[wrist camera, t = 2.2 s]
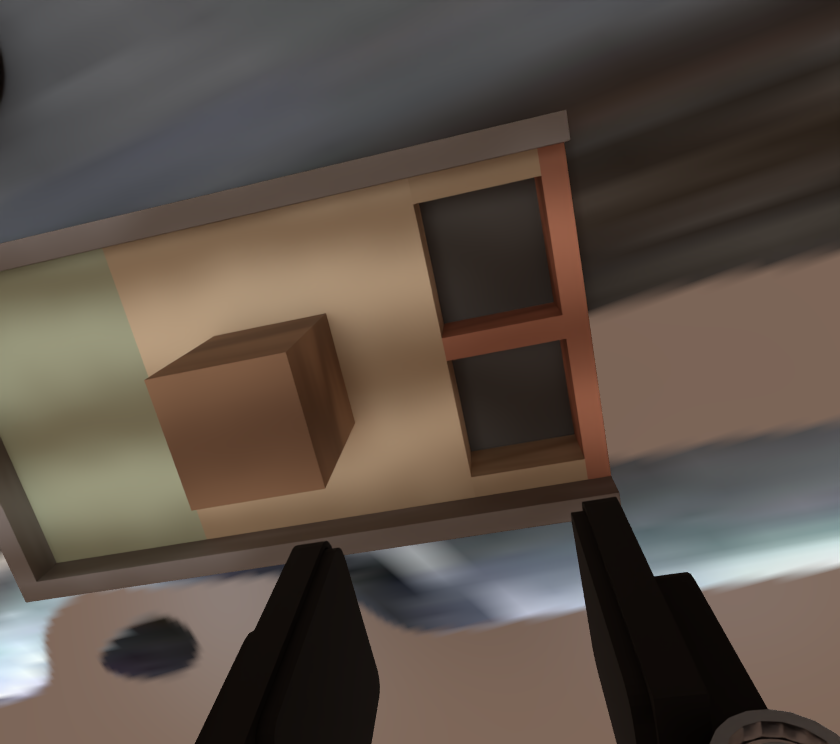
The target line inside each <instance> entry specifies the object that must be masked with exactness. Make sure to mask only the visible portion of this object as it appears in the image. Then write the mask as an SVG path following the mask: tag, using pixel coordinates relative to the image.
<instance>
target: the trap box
mask: <svg viewBox="0 0 840 744" xmlns="http://www.w3.org/2000/svg"><path fill="white" fill-rule="evenodd" d="M569 140H570V133H569V126H568V119H567V112H566V110H563V111H559V112H555V113H550V114H546V115H542V116H538V117H534V118H529V119H525V120H521V121H517V122H512V123H508V124H504V125H500V126H495V127H491V128H487V129H483V130H479V131H474V132H470V133H466V134H462V135H457V136H453V137H449V138H445V139H440V140H436V141H432V142H428V143H424V144H419V145H415V146H411V147H407V148H402V149H398V150H394V151H390V152H386V153H381V154H377V155H373V156H369V157H364V158H360V159H356V160H352V161H347V162H343V163H339V164H335V165H331V166H326V167H322V168H318V169H314V170H309V171H305V172H301V173H297V174H293V175H288V176H284V177H280V178H276V179H271V180H267V181H263V182H259V183H254V184H250V185H246V186H242V187H238V188H233V189H229V190H225V191H221V192H216V193H212V194H208V195H204V196H200V197H195V198H191V199H187V200H183V201H178V202H174V203H170V204H166V205H161V206H157V207H153V208H149V209H145V210H140V211H136V212H132V213H128V214H123V215H119V216H115V217H111V218H107V219H102V220H98V221H94V222H90V223H85V224H81V225H77V226H73V227H68V228H64V229H60V230H56V231H52V232H47V233H43V234H39V235H35V236H30V237H26V238H22V239H18V240H13V241H9V242H5V243H1V244H0V548H1V551H2V553H3V555H4V557H5V559H6V561H7V563H8V565H9V568H10V570H11V572H12V574H13V576H14V578H15V580H16V582H17V585H18V587H19V589H20V591H21V593H22V595H23V597H24V599H25V601H26V602H32V601H39V600H45V599H52V598H59V597H66V596H72V595H79V594H86V593H92V592H99V591H106V590H113V589H119V588H126V587H133V586H140V585H146V584H153V583H160V582H166V581H173V580H180V579H187V578H193V577H200V576H207V575H213V574H220V573H227V572H234V571H240V570H247V569H254V568H261V567H267V566H274V565H281V564H286V562H287V560H288V557H289V555H290V553H291V551H292V549H293V548H294V546H296V545H302V544H308V543H315V542H321V541H328V542H329V543H330V544H331V546H332V548H341V550H342V551H343V554H344V555H348V554H355V553H361V552H368V551H375V550H382V549H388V548H395V547H402V546H408V545H415V544H422V543H429V542H435V541H442V540H449V539H456V538H462V537H469V536H476V535H482V534H489V533H496V532H503V531H509V530H516V529H523V528H529V527H536V526H543V525H550V524H556V523H563V522H570V521H572V520H571V512H577V511H583V510H582V502H583V501H590V500H596V499H603V498H609V497H617V499H618V501H619V503H620V505H621V502H620V495H619V491H618V489H617V487H616V485H615V483H614V481H613V479H612V477H611V472H610V465H609V457H608V451H607V444H606V436H605V429H604V422H603V416H602V408H601V401H600V394H599V387H598V380H597V372H596V365H595V358H594V351H593V344H592V337H591V330H590V323H589V316H588V309H587V302H586V295H585V287H584V280H583V273H582V266H581V259H580V252H579V245H578V238H577V231H576V224H575V217H574V210H573V203H572V195H571V188H570V181H569V174H568V167H567V160H566V153H565V146H564V142H566V141H569ZM324 313H326V315H327V319H328V322H329V326H330V330H331V334H332V337H333V341H334V345H335V349H336V353H337V356H338V360H339V364H340V368H341V371H342V375H343V379H344V383H345V386H346V390H347V394H348V398H349V402H350V405H351V409H352V413H353V417H354V420H355V424H354V427H353V429H352V431H351V433H350V435H349V438H348V440H347V442H346V444H345V446H344V449H343V451H342V453H341V455H340V457H339V460H338V462H337V464H336V466H335V468H334V471H333V473H332V475H331V477H330V479H329V482H328V484H327V486H326V488H325V489H321V490H315V491H309V492H303V493H297V494H290V495H284V496H278V497H272V498H266V499H260V500H254V501H248V502H242V503H236V504H230V505H224V506H217V507H211V508H205V509H199V510H193V511H191V508H190V505H189V502H188V500H187V497H186V494H185V491H184V489H183V486H182V483H181V480H180V478H179V475H178V472H177V469H176V467H175V464H174V461H173V458H172V456H171V453H170V450H169V447H168V445H167V442H166V439H165V436H164V434H163V431H162V428H161V425H160V423H159V420H158V417H157V414H156V412H155V409H154V406H153V403H152V400H151V398H150V395H149V392H148V389H147V387H146V384H145V381H144V380H145V379H147V378H148V377H150V376H151V375H153V374H155V373H156V372H158V371H159V370H161V369H162V368H164V367H166V366H167V365H169V364H170V363H172V362H174V361H175V360H177V359H178V358H180V357H182V356H183V355H185V354H186V353H188V352H189V351H191V350H193V349H194V348H196V347H197V346H199V345H201V344H202V343H204V342H205V341H207V340H209V339H210V338H212V337H213V336H216V335H221V334H226V333H231V332H236V331H241V330H246V329H251V328H256V327H260V326H265V325H270V324H275V323H280V322H285V321H290V320H295V319H300V318H305V317H310V316H314V315H319V314H324Z"/></svg>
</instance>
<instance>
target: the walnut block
mask: <svg viewBox="0 0 840 744" xmlns="http://www.w3.org/2000/svg"><path fill="white" fill-rule="evenodd" d="M144 381H145V384H146V387H147V389H148V392H149V395H150V398H151V400H152V403H153V406H154V409H155V412H156V414H157V417H158V420H159V423H160V425H161V428H162V431H163V434H164V436H165V439H166V442H167V445H168V447H169V450H170V453H171V456H172V458H173V461H174V464H175V467H176V469H177V472H178V475H179V478H180V480H181V483H182V486H183V489H184V491H185V494H186V497H187V500H188V502H189V505H190V508H191V511H193V510H199V509H205V508H211V507H217V506H224V505H230V504H236V503H242V502H248V501H254V500H260V499H266V498H272V497H278V496H284V495H290V494H297V493H303V492H309V491H315V490H321V489H325V488H326V486H327V484H328V482H329V479H330V477H331V475H332V473H333V471H334V468H335V466H336V464H337V462H338V460H339V457H340V455H341V453H342V451H343V449H344V446H345V444H346V442H347V440H348V438H349V435H350V433H351V431H352V429H353V427H354V424H355V420H354V417H353V413H352V409H351V405H350V402H349V398H348V394H347V390H346V386H345V383H344V379H343V375H342V371H341V368H340V364H339V360H338V356H337V353H336V349H335V345H334V341H333V337H332V334H331V330H330V326H329V322H328V319H327V315H326V313H324V314H319V315H314V316H310V317H305V318H300V319H295V320H290V321H285V322H280V323H275V324H270V325H265V326H260V327H256V328H251V329H246V330H241V331H236V332H231V333H226V334H221V335H216V336H213V337H212V338H210V339H209V340H207V341H205V342H204V343H202V344H201V345H199V346H197V347H196V348H194V349H193V350H191V351H189V352H188V353H186V354H185V355H183V356H182V357H180V358H178V359H177V360H175V361H174V362H172V363H170V364H169V365H167V366H166V367H164V368H162V369H161V370H159V371H158V372H156V373H155V374H153V375H151V376H150V377H148V378H147V379H145V380H144Z"/></svg>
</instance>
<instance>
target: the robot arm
mask: <svg viewBox="0 0 840 744" xmlns="http://www.w3.org/2000/svg"><path fill="white" fill-rule="evenodd" d="M582 510H583V511H577V512H571V520H572V526H573V532H574V538H575V544H576V550H577V556H578V562H579V568H580V575H581V581H582V587H583V593H584V599H585V605H586V611H587V617H588V623H589V629H590V635H591V641H592V647H593V652H594V657H595V661H596V666H597V670H598V674H599V678H600V681H601V685H602V689H603V693H604V697H605V701H606V704H607V708H608V712H609V716H610V720H611V723H612V727H613V731H614V734H615V738H616V742H617V744H840V737H839V736H838V735H837V734H836V733H834V732H832V731H831V730H829V729H827V728H825V727H824V726H822V725H820V724H819V723H817V722H815V721H813V720H810V719H807V718H805V717H802V716H799V715H796V714H794V713H790V712H784V711H777V710H769V709H767V707H766V705H765V703H764V701H763V700H762V698H761V696H760V694H759V693H758V691H757V689H756V687H755V686H754V684H753V682H752V680H751V679H750V677H749V675H748V673H747V672H746V670H745V668H744V666H743V664H742V663H741V661H740V659H739V657H738V655H737V654H736V652H735V650H734V648H733V647H732V645H731V643H730V641H729V640H728V638H727V636H726V634H725V633H724V631H723V629H722V627H721V625H720V624H719V622H718V620H717V618H716V616H715V615H714V613H713V611H712V609H711V608H710V606H709V604H708V603H707V601H706V599H705V597H704V595H703V593H702V592H701V590H700V588H699V586H698V585H697V583H696V581H695V580H694V578H693V577H692V575H691V574H690V573H688V572H684V573H676V574H669V575H661V576H654V575H653V573H652V571H651V569H650V567H649V565H648V563H647V561H646V558H645V556H644V554H643V552H642V550H641V548H640V546H639V543H638V541H637V539H636V537H635V535H634V533H633V531H632V528H631V526H630V524H629V522H628V520H627V518H626V516H625V513H624V511H623V509H622V507H621V505H620V503H619V501H618V499H617V497H609V498H603V499H596V500H590V501H583V502H582ZM379 693H380V684H379V675H378V671H377V668H376V664H375V660H374V657H373V653H372V650H371V646H370V643H369V640H368V636H367V633H366V629H365V626H364V623H363V619H362V616H361V612H360V608H359V605H358V602H357V598H356V595H355V591H354V588H353V584H352V581H351V577H350V574H349V571H348V567H347V564H346V560H345V557H344V554H343V551H342V550H341V548H332V546H331V544H330V543H329V542H328V541H321V542H315V543H308V544H302V545H296V546H294V548H293V549H292V551H291V553H290V555H289V557H288V560H287V562H286V564H285V566H284V568H283V570H282V572H281V575H280V577H279V579H278V581H277V583H276V585H275V588H274V589H273V592H272V594H271V596H270V598H269V600H268V602H267V604H266V607H265V609H264V611H263V613H262V615H261V617H260V619H259V621H258V624H257V626H256V628H255V630H254V631H252V632H251V633H249V634H248V636H247V637H246V639H245V640H244V642H243V644H242V646H241V649H240V651H239V653H238V655H237V657H236V659H235V661H234V663H233V665H232V667H231V670H230V671H229V673H228V676H227V678H226V680H225V682H224V684H223V686H222V688H221V690H220V692H219V695H218V696H217V699H216V701H215V703H214V705H213V707H212V709H211V711H210V713H209V715H208V717H207V719H206V721H205V723H204V726H203V728H202V730H201V732H200V734H199V736H198V738H197V740H196V742H195V744H371V743H372V737H373V731H374V725H375V719H376V713H377V707H378V700H379Z"/></svg>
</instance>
